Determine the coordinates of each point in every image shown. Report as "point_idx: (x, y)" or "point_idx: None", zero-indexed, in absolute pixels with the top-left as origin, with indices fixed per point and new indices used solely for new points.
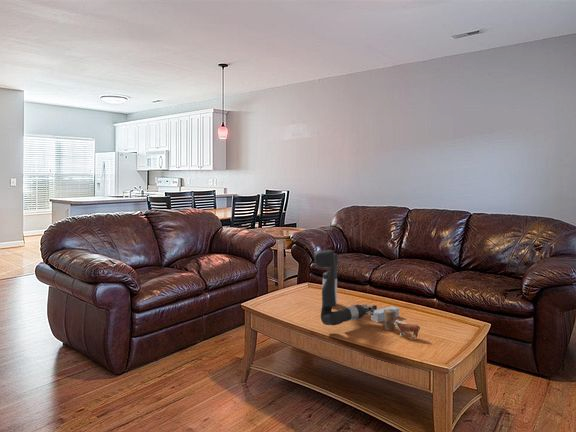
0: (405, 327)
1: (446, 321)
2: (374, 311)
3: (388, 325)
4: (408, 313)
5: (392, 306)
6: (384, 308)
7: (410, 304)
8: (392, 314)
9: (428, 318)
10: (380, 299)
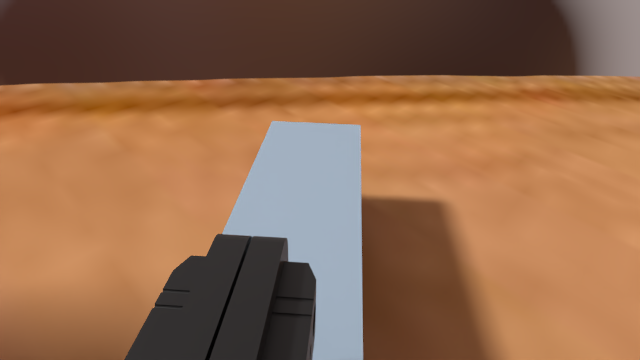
0: None
1: (587, 119)
2: None
3: None
4: None
5: (278, 125)
6: (253, 183)
7: (251, 81)
8: None
9: (499, 134)
10: (42, 98)
